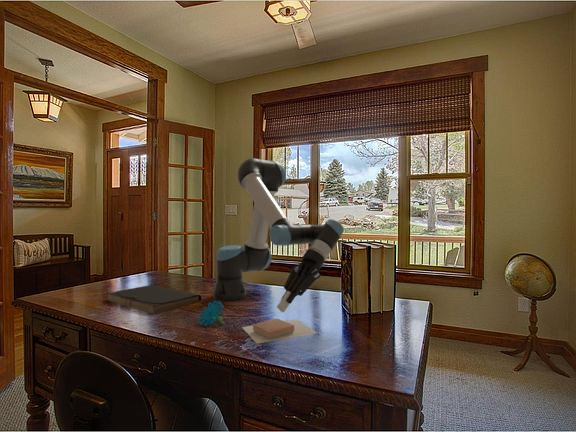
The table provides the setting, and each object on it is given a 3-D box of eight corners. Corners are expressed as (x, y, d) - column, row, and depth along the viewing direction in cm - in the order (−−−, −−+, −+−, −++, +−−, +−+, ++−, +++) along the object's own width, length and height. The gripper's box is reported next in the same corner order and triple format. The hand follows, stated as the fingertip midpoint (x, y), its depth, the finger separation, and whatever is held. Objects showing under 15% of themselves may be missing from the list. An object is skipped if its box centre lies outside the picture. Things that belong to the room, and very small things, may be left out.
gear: (192, 317, 116) (212, 295, 120) (202, 326, 119) (221, 304, 123) (207, 330, 108) (228, 306, 112) (217, 339, 111) (237, 315, 115)
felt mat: (241, 328, 111) (241, 327, 111) (297, 320, 120) (297, 319, 120) (256, 344, 97) (256, 343, 97) (317, 334, 106) (317, 333, 106)
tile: (277, 318, 113) (253, 324, 107) (294, 325, 106) (269, 332, 100) (277, 325, 113) (252, 331, 107) (294, 332, 106) (269, 340, 100)
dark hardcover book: (106, 292, 142) (155, 283, 163) (106, 302, 142) (155, 291, 163) (152, 305, 124) (201, 293, 145) (152, 316, 124) (201, 302, 145)
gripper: (334, 264, 115) (299, 321, 105) (308, 259, 125) (274, 311, 114) (324, 250, 112) (286, 307, 101) (298, 246, 121) (262, 298, 111)
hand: (280, 309), depth 108 cm, fingers closed
